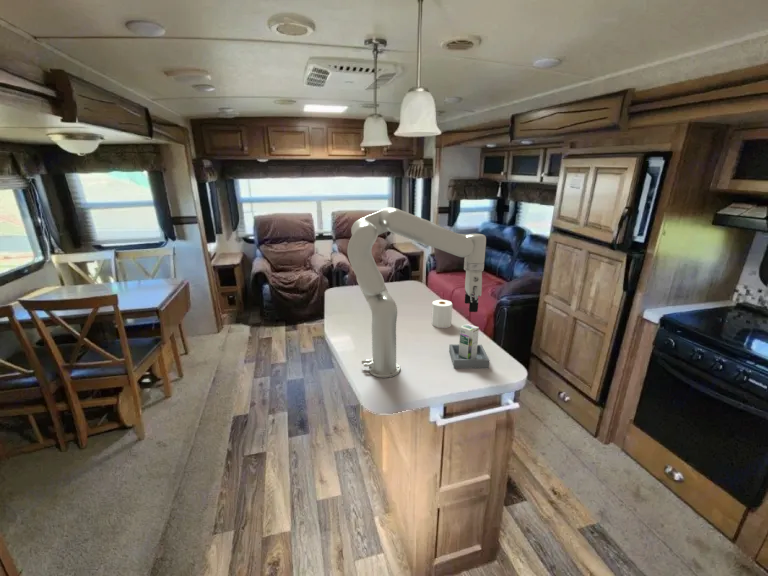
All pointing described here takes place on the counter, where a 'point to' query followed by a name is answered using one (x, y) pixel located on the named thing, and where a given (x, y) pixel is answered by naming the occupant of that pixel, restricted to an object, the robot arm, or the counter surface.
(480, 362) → the box
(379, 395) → the counter surface
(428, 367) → the counter surface
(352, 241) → the robot arm
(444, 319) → the toilet paper
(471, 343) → the syrup box
